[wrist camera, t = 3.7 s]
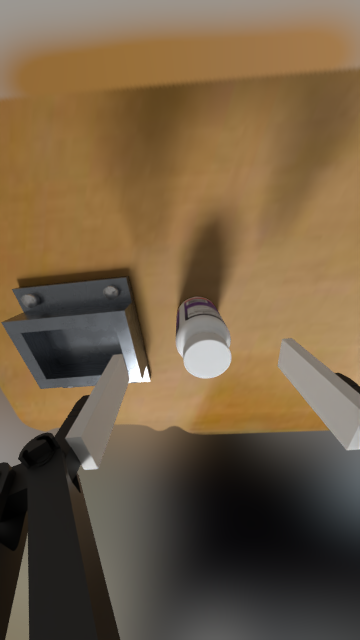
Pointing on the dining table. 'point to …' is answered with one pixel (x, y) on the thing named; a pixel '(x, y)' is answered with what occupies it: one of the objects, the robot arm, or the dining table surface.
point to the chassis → (78, 331)
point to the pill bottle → (202, 338)
